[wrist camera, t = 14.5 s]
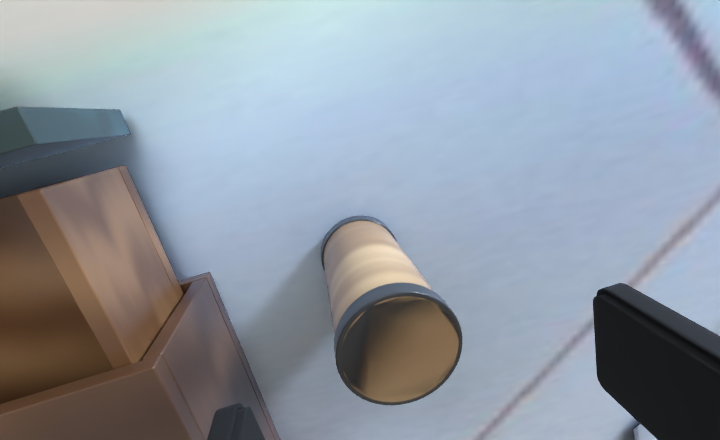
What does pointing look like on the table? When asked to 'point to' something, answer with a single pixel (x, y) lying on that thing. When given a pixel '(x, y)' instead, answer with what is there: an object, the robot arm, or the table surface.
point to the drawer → (75, 260)
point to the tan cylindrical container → (385, 316)
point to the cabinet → (152, 385)
